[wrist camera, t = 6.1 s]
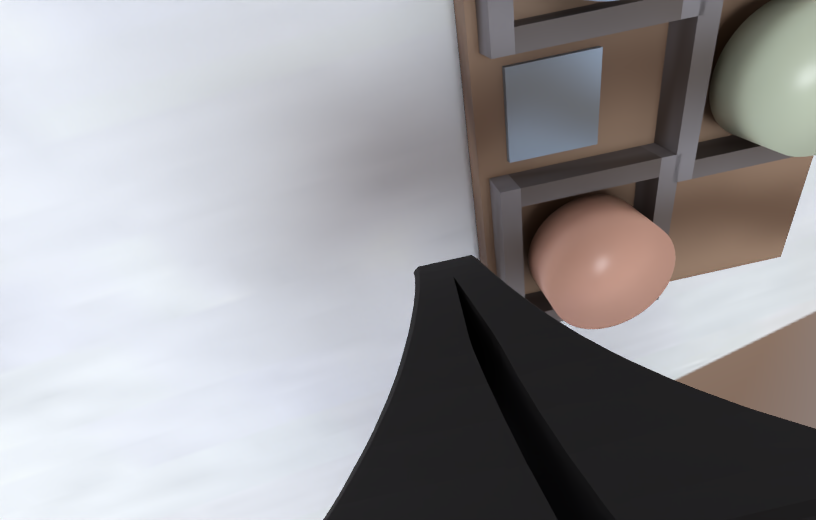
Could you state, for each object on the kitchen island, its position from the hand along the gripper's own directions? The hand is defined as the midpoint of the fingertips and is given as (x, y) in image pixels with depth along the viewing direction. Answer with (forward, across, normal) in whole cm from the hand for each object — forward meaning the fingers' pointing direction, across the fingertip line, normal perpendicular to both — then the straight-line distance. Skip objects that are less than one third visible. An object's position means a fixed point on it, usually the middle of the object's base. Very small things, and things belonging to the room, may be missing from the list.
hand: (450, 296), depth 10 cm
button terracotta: (+8, -7, +5) cm, 12 cm away
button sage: (+8, -14, -1) cm, 16 cm away
